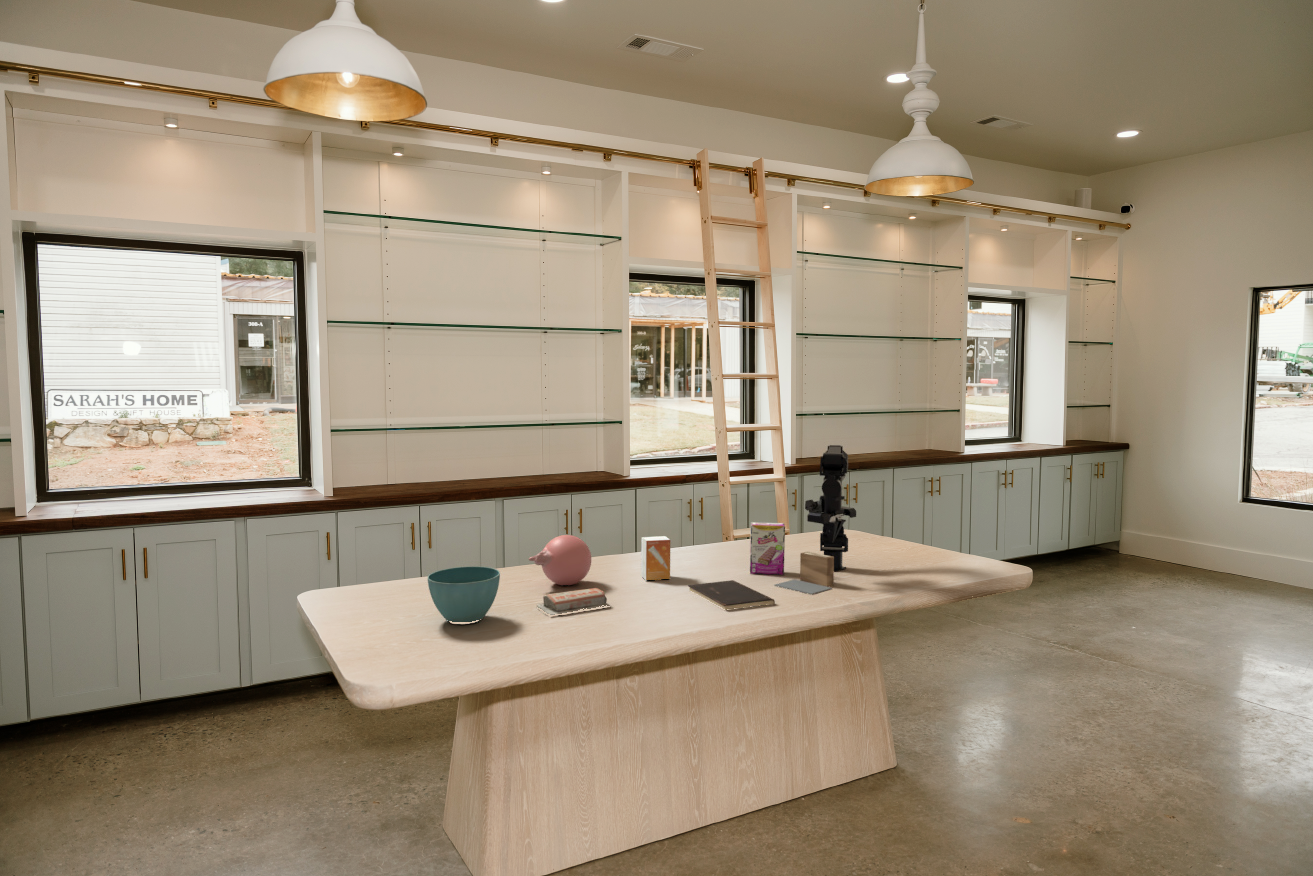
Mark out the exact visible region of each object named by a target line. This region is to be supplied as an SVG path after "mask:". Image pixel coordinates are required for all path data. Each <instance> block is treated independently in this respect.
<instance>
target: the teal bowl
mask: <svg viewBox="0 0 1313 876" xmlns="http://www.w3.org/2000/svg"><path fill="white" fill-rule="evenodd" d="M500 579H501V572H500V571H499V569H496V568H494V567H488V566H479V565H478V566H470V565H469V566H456V567H450V568H443V569H441V570H436V571H433V572H432V573H429V575H428V576H427V586H428V590H429V594H430V596H431V599H432V602H433V604H434V606H435V608H436V609H437V612H439V613H440V615H441V616H442V617H443V618H444V619H445V620H446V621H447V620H448V621H452V622H472V621H476V620H480V619H482V618H483V617H486V615H487V614H488V612H489V611H490V609H491V608H492V606H493V604H494V602H495V599H496V596H497V593H498V590H499V586H500ZM483 619H484V618H483ZM483 619H482V620H483ZM448 621H447V622H448Z"/></svg>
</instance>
